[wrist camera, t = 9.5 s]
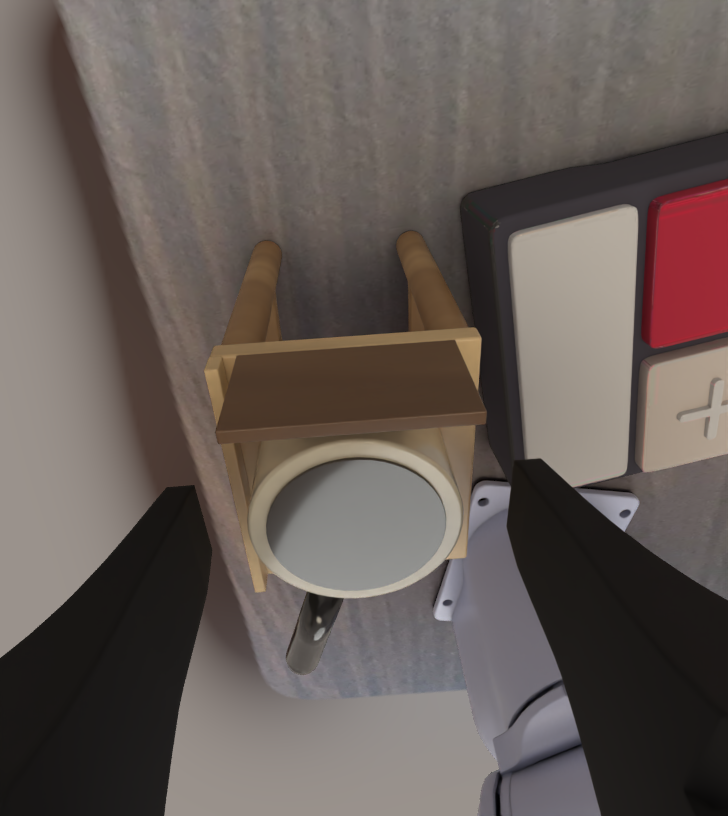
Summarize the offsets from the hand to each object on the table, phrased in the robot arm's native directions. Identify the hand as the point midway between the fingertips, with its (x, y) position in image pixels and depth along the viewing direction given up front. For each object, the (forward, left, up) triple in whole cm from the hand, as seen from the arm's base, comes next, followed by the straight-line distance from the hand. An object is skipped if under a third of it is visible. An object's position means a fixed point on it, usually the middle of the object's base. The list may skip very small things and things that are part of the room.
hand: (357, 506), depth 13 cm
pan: (-2, 0, -2) cm, 2 cm away
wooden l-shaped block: (0, 0, -2) cm, 2 cm away
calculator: (+3, -12, -10) cm, 16 cm away
